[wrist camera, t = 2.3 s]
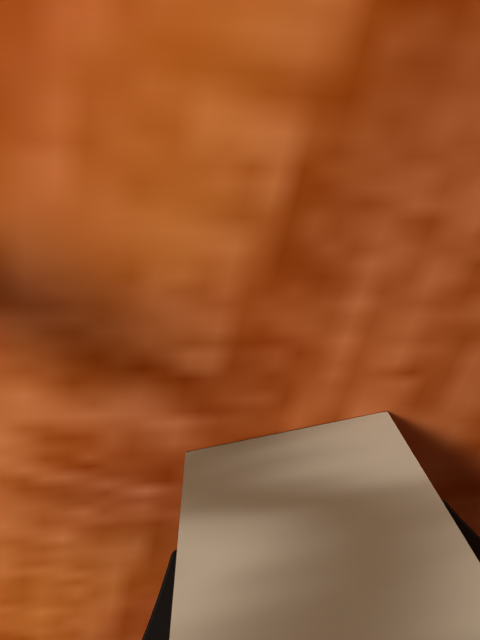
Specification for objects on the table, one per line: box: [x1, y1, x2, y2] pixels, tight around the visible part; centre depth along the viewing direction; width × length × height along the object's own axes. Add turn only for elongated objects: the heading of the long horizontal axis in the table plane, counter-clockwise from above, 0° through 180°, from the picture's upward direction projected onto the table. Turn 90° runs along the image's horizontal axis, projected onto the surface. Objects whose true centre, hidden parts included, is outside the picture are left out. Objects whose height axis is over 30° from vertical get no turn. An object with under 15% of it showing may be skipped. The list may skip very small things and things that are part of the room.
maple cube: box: [169, 412, 480, 640], centre depth 9 cm, size 5×5×5 cm
